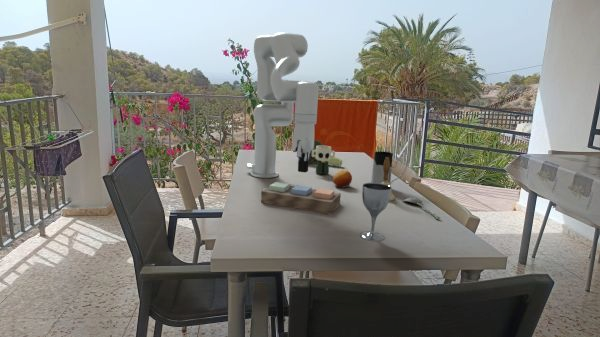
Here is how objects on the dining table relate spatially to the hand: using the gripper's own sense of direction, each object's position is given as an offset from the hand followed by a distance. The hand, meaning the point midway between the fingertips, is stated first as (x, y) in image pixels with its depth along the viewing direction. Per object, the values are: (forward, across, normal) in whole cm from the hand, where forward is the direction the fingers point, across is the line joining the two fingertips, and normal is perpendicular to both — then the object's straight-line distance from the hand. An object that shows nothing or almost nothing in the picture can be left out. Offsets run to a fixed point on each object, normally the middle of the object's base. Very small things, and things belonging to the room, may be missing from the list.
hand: (302, 171), depth 140 cm
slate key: (+9, 0, 0) cm, 9 cm away
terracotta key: (+9, 0, +8) cm, 12 cm away
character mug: (+11, -48, -7) cm, 50 cm away
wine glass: (+12, +19, +29) cm, 36 cm away
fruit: (+12, -31, +7) cm, 34 cm away
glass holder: (+12, -37, +25) cm, 46 cm away
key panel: (+12, 0, 0) cm, 12 cm away
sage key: (+9, 0, -9) cm, 12 cm away
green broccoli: (+11, -70, -15) cm, 72 cm away
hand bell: (+12, -23, +26) cm, 37 cm away
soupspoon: (+12, -15, +40) cm, 45 cm away
